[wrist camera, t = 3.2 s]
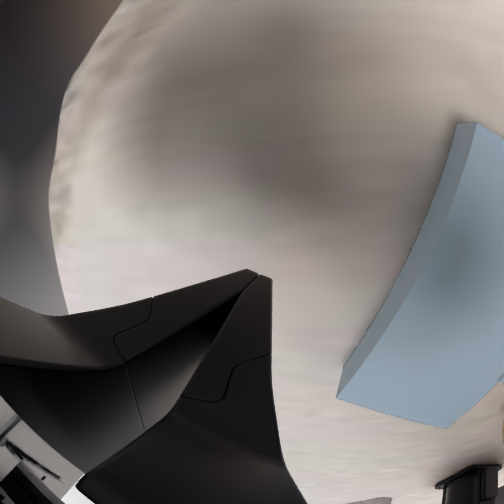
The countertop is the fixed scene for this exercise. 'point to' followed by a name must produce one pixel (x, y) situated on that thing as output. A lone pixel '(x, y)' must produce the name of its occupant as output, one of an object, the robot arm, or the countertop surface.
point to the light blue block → (442, 299)
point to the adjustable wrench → (375, 501)
